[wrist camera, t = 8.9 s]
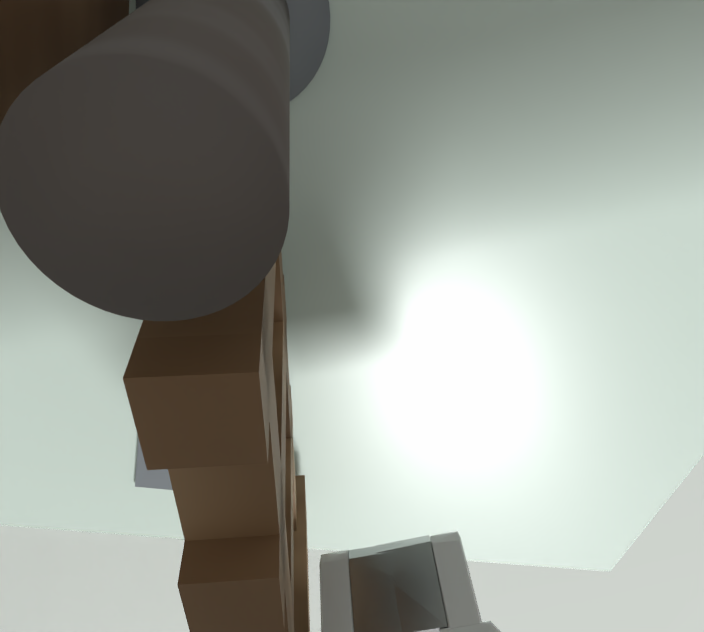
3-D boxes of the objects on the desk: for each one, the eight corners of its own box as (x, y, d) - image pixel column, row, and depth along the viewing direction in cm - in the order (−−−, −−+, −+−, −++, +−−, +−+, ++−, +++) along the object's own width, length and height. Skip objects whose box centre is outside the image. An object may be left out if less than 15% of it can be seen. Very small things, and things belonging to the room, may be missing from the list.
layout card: (605, 562, 18) (611, 574, 18) (-388, 483, 13) (-405, 498, 13) (1007, 52, 10) (1030, 57, 10) (-1079, -633, 5) (-1172, -671, 5)
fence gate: (249, 517, 15) (229, 825, 10) (197, 128, 9) (94, 379, 4) (306, 513, 15) (314, 817, 10) (288, 127, 9) (284, 370, 5)
